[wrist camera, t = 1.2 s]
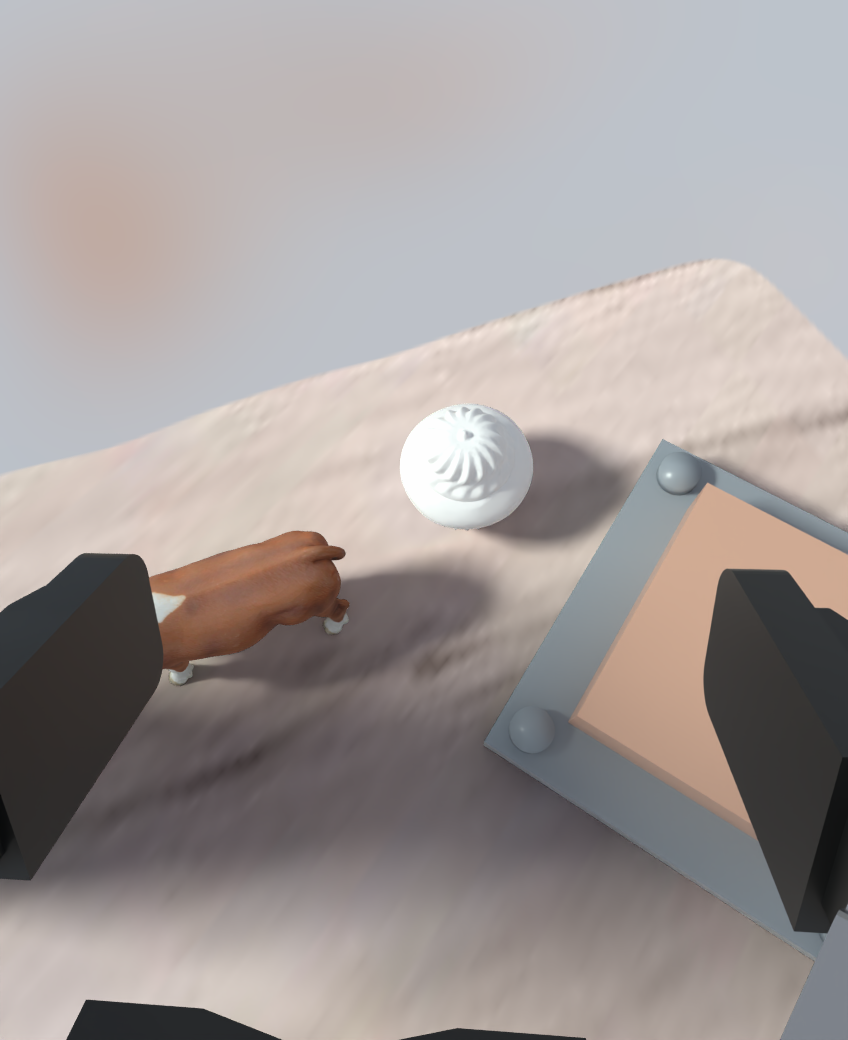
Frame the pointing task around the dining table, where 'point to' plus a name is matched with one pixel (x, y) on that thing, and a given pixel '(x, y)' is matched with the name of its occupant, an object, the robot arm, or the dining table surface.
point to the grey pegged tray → (665, 675)
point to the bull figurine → (245, 598)
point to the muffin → (466, 466)
